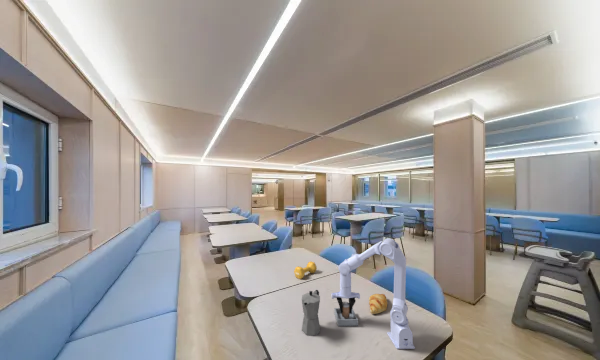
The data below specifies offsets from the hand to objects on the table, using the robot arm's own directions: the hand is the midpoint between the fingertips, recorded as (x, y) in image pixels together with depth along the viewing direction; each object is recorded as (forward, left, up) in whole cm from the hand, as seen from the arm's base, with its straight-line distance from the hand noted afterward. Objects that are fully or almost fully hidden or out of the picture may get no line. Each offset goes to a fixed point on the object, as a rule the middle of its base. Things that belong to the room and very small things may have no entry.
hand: (345, 311), depth 105 cm
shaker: (0, 0, -2) cm, 2 cm away
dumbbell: (+54, +18, -4) cm, 57 cm away
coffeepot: (-6, +18, -4) cm, 19 cm away
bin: (0, 0, -4) cm, 4 cm away
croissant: (+12, -21, -4) cm, 25 cm away
